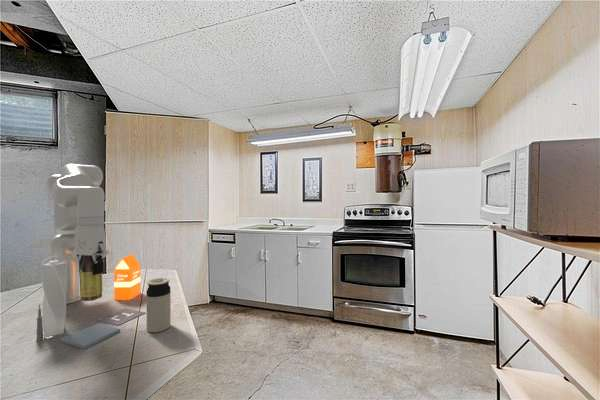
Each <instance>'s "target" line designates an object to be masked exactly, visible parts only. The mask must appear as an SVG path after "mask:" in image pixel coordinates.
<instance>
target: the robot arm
mask: <svg viewBox="0 0 600 400" xmlns="http://www.w3.org/2000/svg"><path fill="white" fill-rule="evenodd" d="M103 180H104V173H103V171H102V169H101V167H99V166H97V165H93V164H91V165H90V164H89V165H88V164H79V163H77V164H76V163H68V164H64V165H63V166H62V167H61V168H60V169H59V174H52V175H49V176H48V178H47V180H46V185H47V189H48V192H49V194H50V195H51V196H50V197H51V198H52V200H53V224H54V228H55V230H56V231H58V232H68V233H61V234H60V233H59V234H56V235H53V236H52V237H51V239H50V240H49V249H50V253H51V256H53V255H57V259H56V260H59V262H61V261H65V260H67V261H68V264H67V273H66V279H65V284H64V292H65V298H66V305H68V304H72V303H76V302H78V301H80V300H81V296H80V274H79V266H80V264H81V261H82V259H83V255H86V256H92V257H93V261H94V263H92V268H93V275H96V274H100V273H102V274H103V273H104V262H105V259H106V257H107V256H108V254H109V251H108V250H107V241H106V240H107V239H106V230H105V203H104V202H105V192H104V189H103V188H102V187H100V186H101V184H102V183H103ZM69 232H71V233H69ZM72 232H73V233H72ZM96 252H97V254H96ZM75 254H76V256H77V258H76V257H75V256H74V255H75ZM96 256H98V258H97V257H96ZM55 258H56V257H51V261H54V260H55ZM81 301H82V300H81Z"/></svg>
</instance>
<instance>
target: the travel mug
mask: <svg viewBox="0 0 600 400" xmlns="http://www.w3.org/2000/svg"><path fill="white" fill-rule="evenodd" d="M169 282H170V278H168V277H155V278H152V279H150V280H148V281H147V282H146V284H147V286H148V287H147V289H146V331H147V332H149V333H152V332H153V333H154V334H155V332H156V333H160V332H161V333H162V332H163V331H165V330H168V329H169V328H170V327H171V286H170V285H169Z"/></svg>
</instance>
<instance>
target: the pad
mask: <svg viewBox="0 0 600 400" xmlns="http://www.w3.org/2000/svg"><path fill="white" fill-rule="evenodd" d="M120 332H121V328H118V327H114V326H109V325H106V324H101V323H96V324H92V325H91V326H89V327H86V328H84V329H80V330H79V331H77V332H73V333H72V334H70V335H68V336H63V338H60V343H62V344H65V345H68V346H69V345H70V346H73V347H75V348H76V347H77V348H80V349H84V350H85V349H87V348H89V347H92V346H94V345H95V344H97V343H99V342H101V341H104V340H106V339H107V338H110V337H112V336H114V335H116V334H118V333H120Z"/></svg>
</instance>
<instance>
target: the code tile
mask: <svg viewBox="0 0 600 400" xmlns="http://www.w3.org/2000/svg"><path fill="white" fill-rule="evenodd" d="M145 314H147V311H141V310H136V309H130V308H123V309H120V310H119V311H115V312H112V313H111V314H109V315H107V316H106V315H105V316H104V317H102V318H99V319H96V321H97V322H102V323H106V324H110V325H115V326H122V325H123V324H125V323H127V322H129V321H131V320H134V319H136V318H138V317H140V316H142V315H145Z"/></svg>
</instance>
